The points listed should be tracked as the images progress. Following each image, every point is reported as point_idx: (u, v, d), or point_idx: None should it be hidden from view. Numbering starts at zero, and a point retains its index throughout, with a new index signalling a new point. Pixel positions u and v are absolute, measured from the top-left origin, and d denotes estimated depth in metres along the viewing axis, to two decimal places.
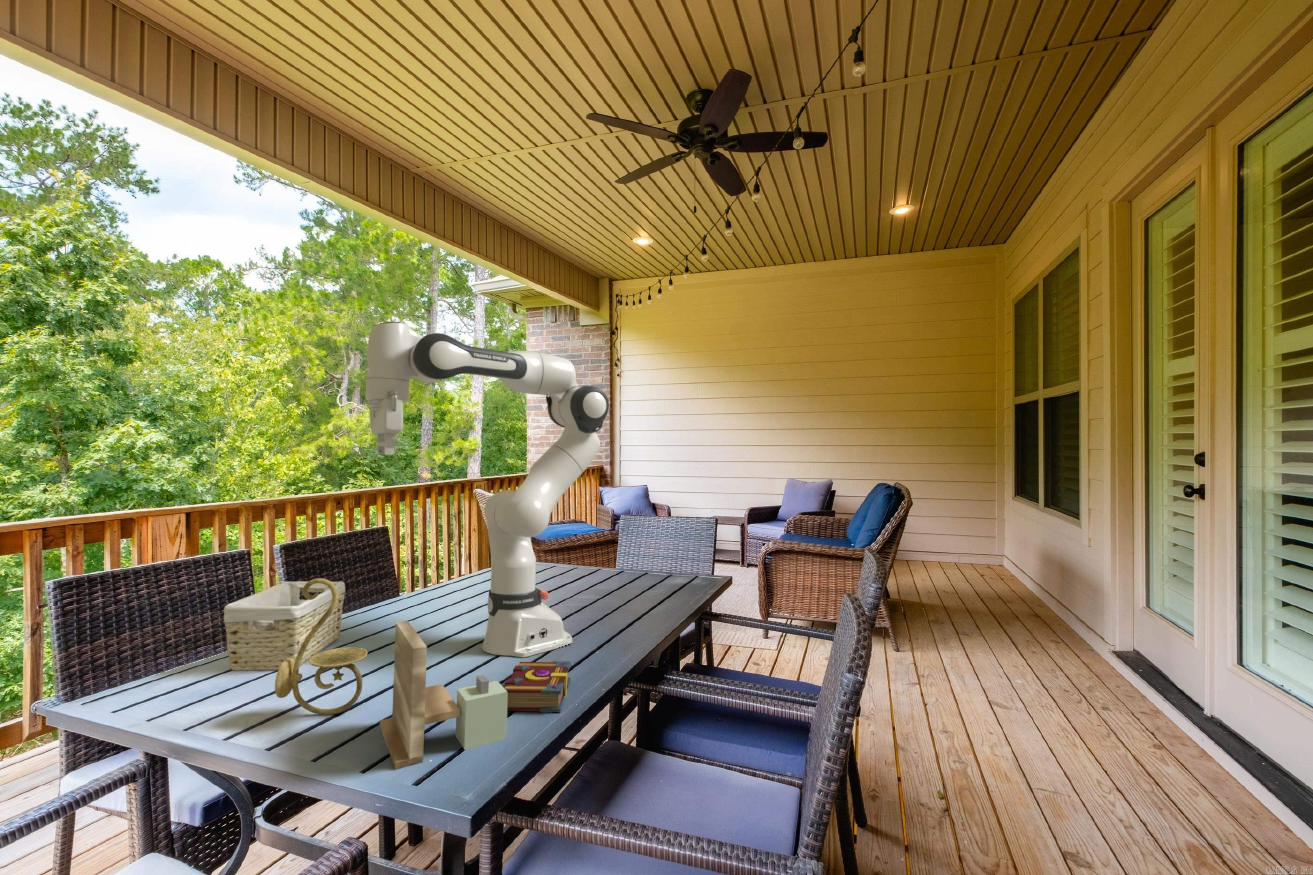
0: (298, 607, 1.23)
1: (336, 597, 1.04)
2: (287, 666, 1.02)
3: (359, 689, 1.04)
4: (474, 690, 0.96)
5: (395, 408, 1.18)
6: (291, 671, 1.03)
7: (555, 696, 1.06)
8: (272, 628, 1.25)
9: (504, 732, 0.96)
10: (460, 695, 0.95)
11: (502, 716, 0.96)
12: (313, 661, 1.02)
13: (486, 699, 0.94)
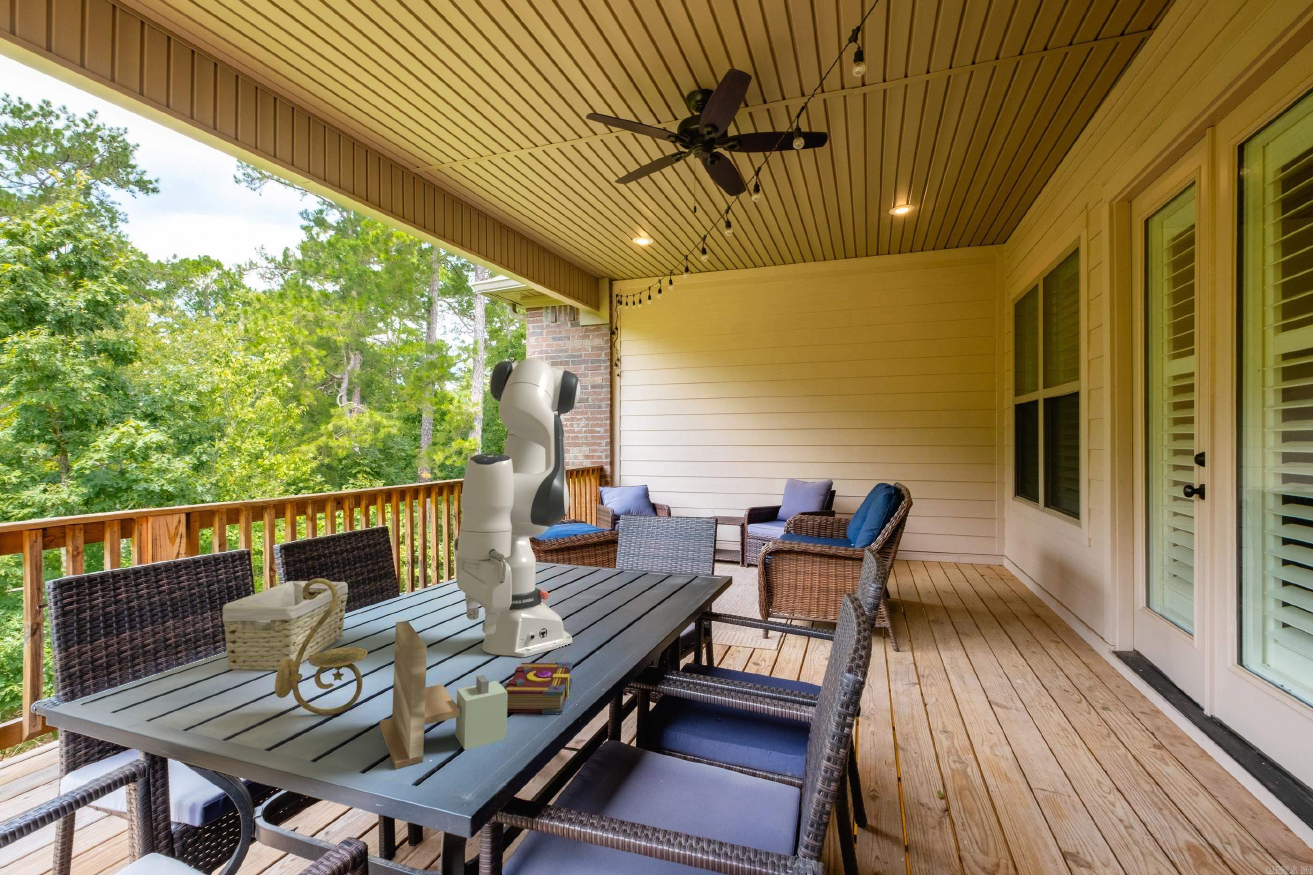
0: (294, 608, 1.23)
1: (336, 597, 1.04)
2: (287, 666, 1.02)
3: (359, 689, 1.04)
4: (474, 690, 0.96)
5: (503, 579, 0.90)
6: (291, 671, 1.03)
7: (557, 697, 1.06)
8: (270, 628, 1.25)
9: (504, 732, 0.96)
10: (460, 695, 0.95)
11: (502, 716, 0.96)
12: (313, 661, 1.02)
13: (486, 699, 0.94)
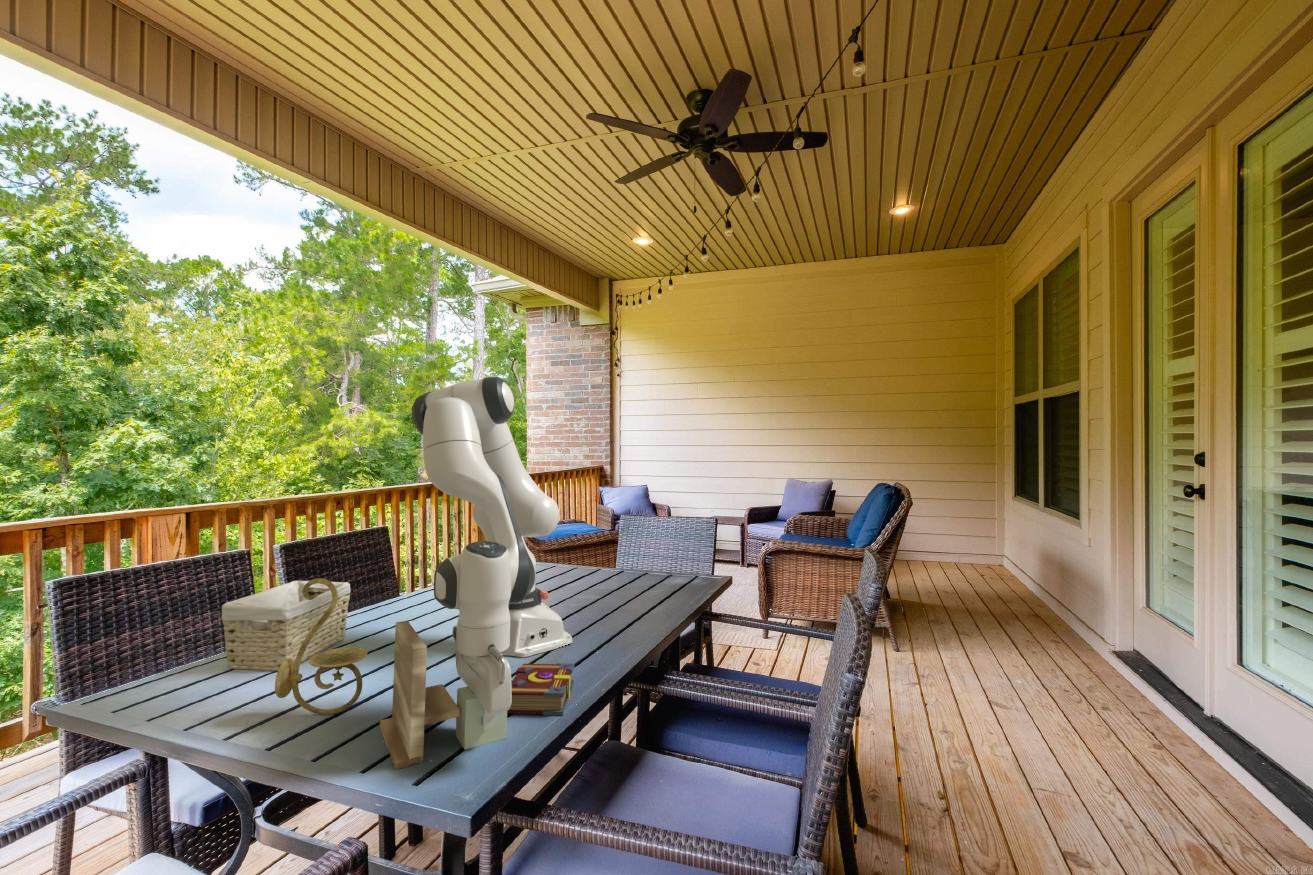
0: (289, 608, 1.22)
1: (336, 597, 1.04)
2: (287, 666, 1.02)
3: (359, 689, 1.04)
4: None
5: (503, 680, 0.88)
6: (291, 671, 1.03)
7: (557, 699, 1.05)
8: (267, 628, 1.25)
9: (504, 732, 0.96)
10: (460, 695, 0.95)
11: (502, 716, 0.96)
12: (313, 661, 1.02)
13: None
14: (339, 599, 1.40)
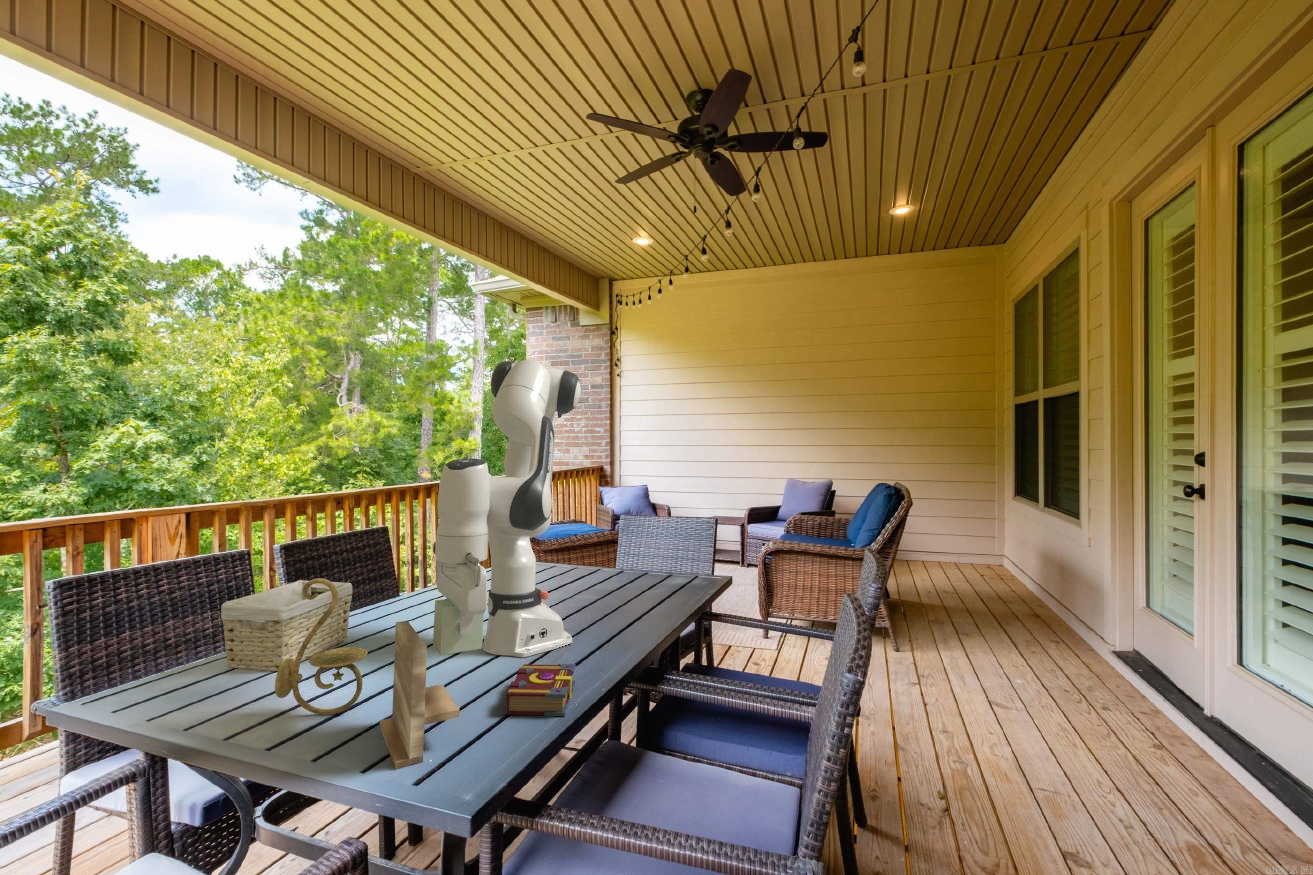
0: (285, 608, 1.22)
1: (336, 597, 1.04)
2: (287, 666, 1.02)
3: (359, 689, 1.04)
4: None
5: (478, 583, 0.91)
6: (291, 671, 1.03)
7: (559, 700, 1.05)
8: (265, 628, 1.25)
9: (480, 642, 0.99)
10: (437, 605, 0.98)
11: (478, 626, 0.98)
12: (313, 661, 1.02)
13: None
14: (340, 600, 1.40)
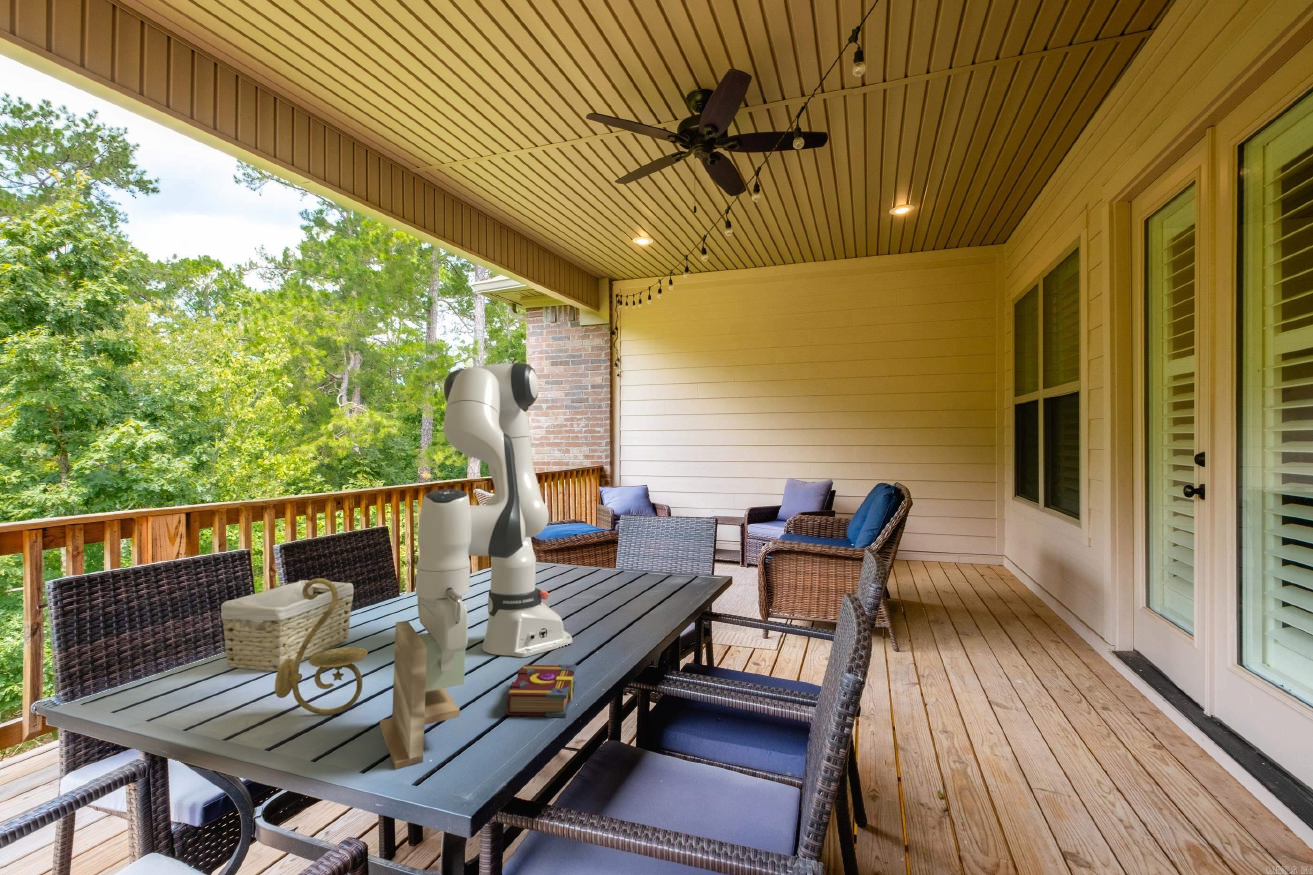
0: (283, 609, 1.22)
1: (336, 597, 1.04)
2: (287, 666, 1.02)
3: (359, 689, 1.04)
4: None
5: (458, 620, 0.90)
6: (291, 671, 1.03)
7: (560, 700, 1.05)
8: (264, 628, 1.25)
9: (461, 677, 0.97)
10: None
11: (460, 661, 0.97)
12: (313, 661, 1.02)
13: None
14: (341, 600, 1.39)
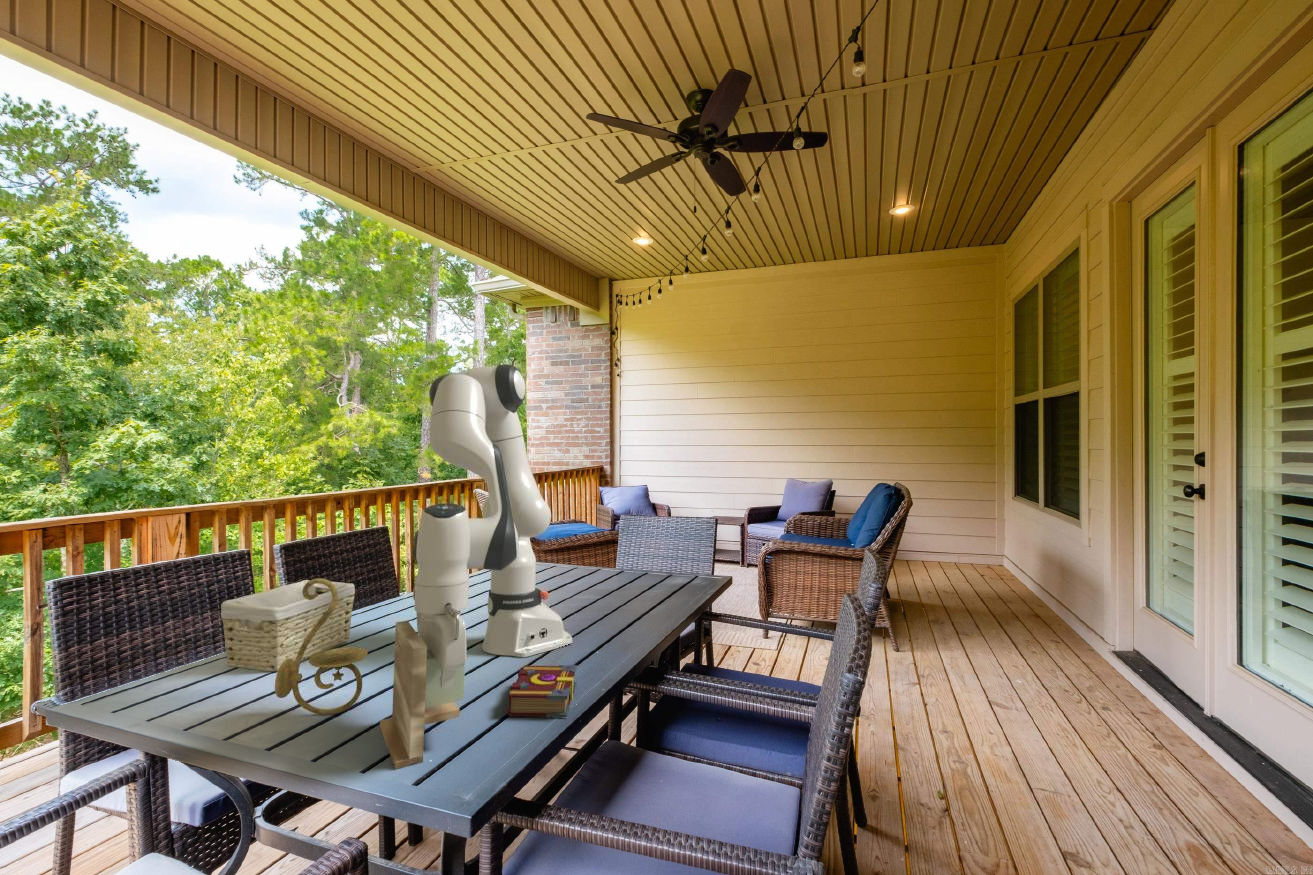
0: (280, 609, 1.22)
1: (336, 597, 1.04)
2: (287, 666, 1.02)
3: (359, 689, 1.04)
4: None
5: (457, 636, 0.89)
6: (291, 671, 1.03)
7: (561, 701, 1.04)
8: (263, 628, 1.25)
9: (461, 693, 0.97)
10: None
11: (459, 677, 0.97)
12: (313, 661, 1.02)
13: None
14: (341, 600, 1.39)
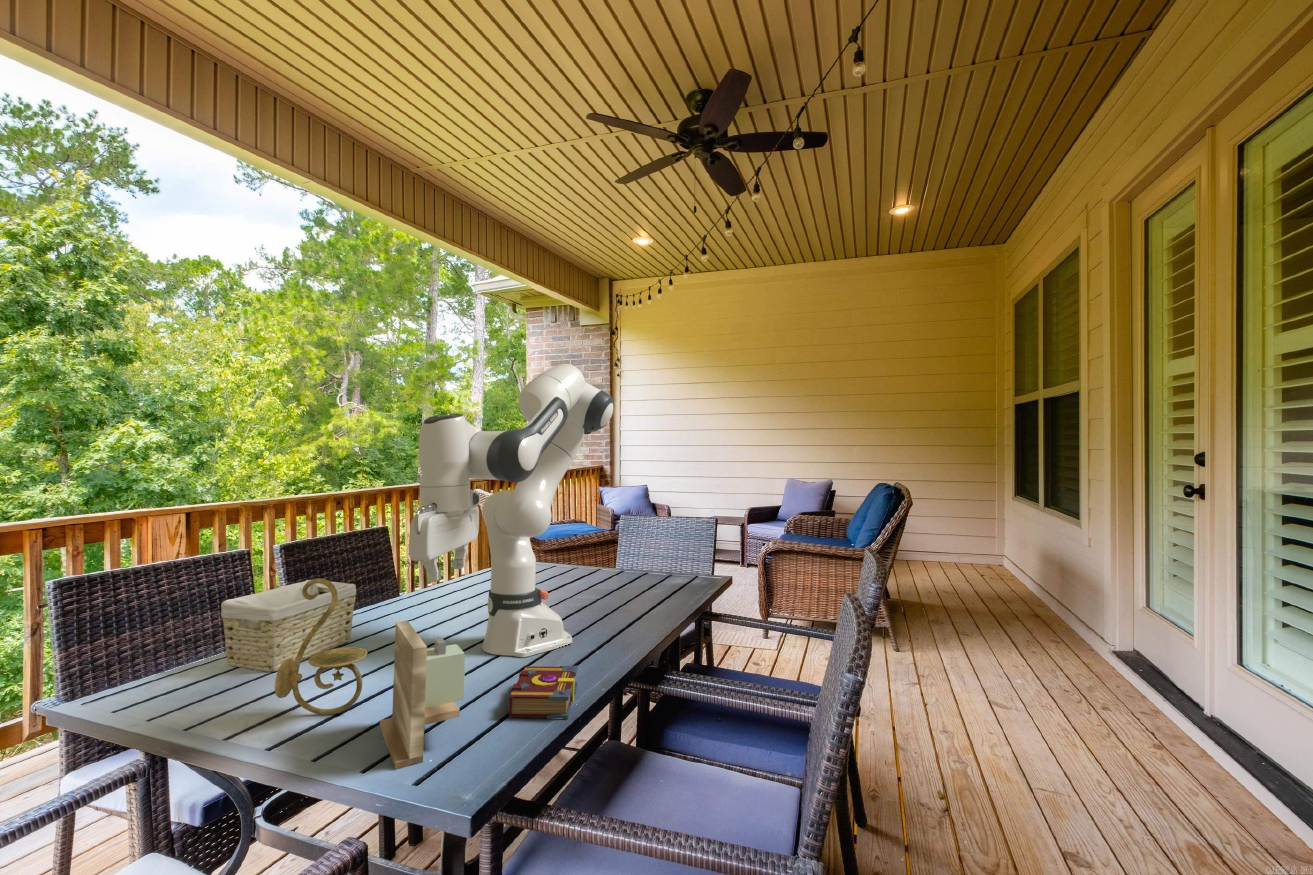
0: (276, 609, 1.21)
1: (336, 597, 1.04)
2: (287, 666, 1.02)
3: (359, 689, 1.04)
4: (432, 652, 0.97)
5: (418, 530, 0.94)
6: (291, 671, 1.03)
7: (562, 702, 1.04)
8: None
9: (461, 693, 0.97)
10: None
11: (459, 677, 0.97)
12: (313, 661, 1.02)
13: (442, 660, 0.95)
14: (342, 601, 1.38)
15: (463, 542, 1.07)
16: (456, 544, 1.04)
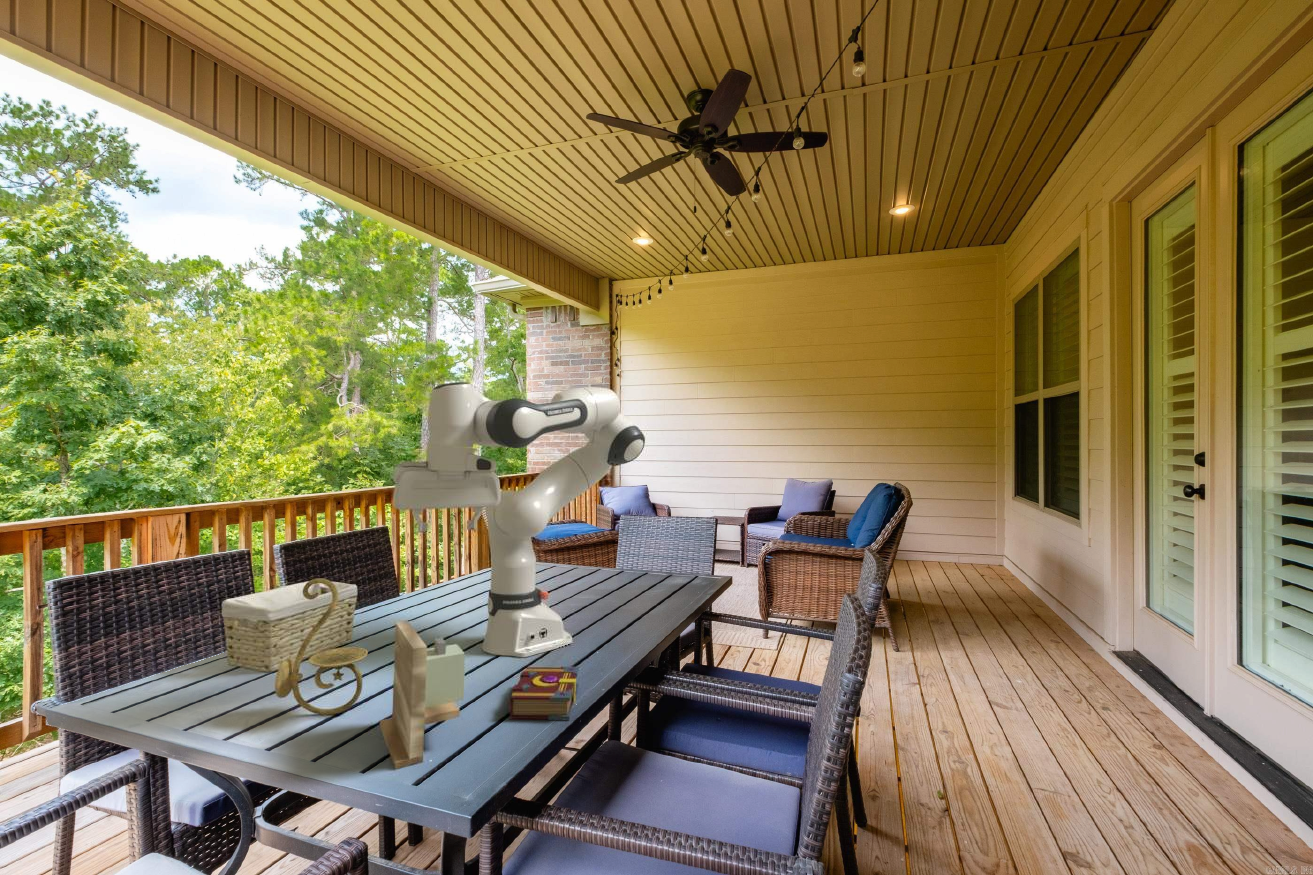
0: (273, 609, 1.21)
1: (336, 597, 1.04)
2: (287, 666, 1.02)
3: (359, 689, 1.04)
4: (432, 652, 0.97)
5: (395, 481, 1.06)
6: (291, 671, 1.03)
7: (563, 703, 1.04)
8: None
9: (461, 693, 0.97)
10: None
11: (459, 677, 0.97)
12: (313, 661, 1.02)
13: (442, 660, 0.95)
14: (342, 601, 1.38)
15: (468, 504, 1.12)
16: (452, 503, 1.11)
